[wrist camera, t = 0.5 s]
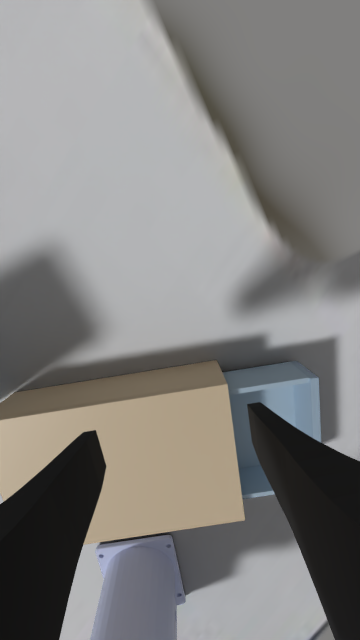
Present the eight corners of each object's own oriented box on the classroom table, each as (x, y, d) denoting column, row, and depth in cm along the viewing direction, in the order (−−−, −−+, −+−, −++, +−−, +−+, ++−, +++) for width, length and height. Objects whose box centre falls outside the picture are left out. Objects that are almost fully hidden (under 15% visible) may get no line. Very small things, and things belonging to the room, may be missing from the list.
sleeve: (232, 473, 23) (245, 520, 19) (52, 501, 23) (24, 553, 19) (216, 360, 21) (227, 384, 16) (14, 392, 21) (-28, 424, 17)
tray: (302, 458, 22) (322, 489, 19) (125, 485, 23) (117, 520, 20) (296, 360, 20) (318, 377, 17) (101, 391, 21) (88, 414, 17)
